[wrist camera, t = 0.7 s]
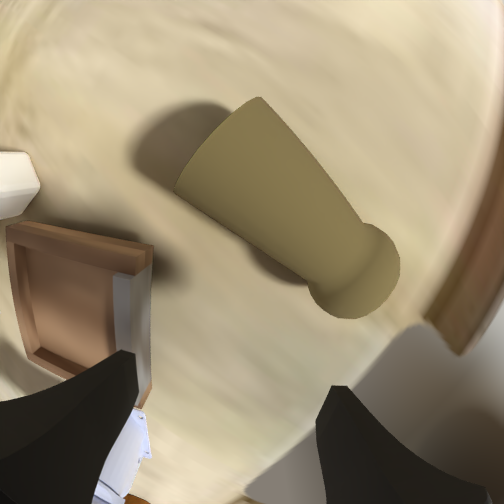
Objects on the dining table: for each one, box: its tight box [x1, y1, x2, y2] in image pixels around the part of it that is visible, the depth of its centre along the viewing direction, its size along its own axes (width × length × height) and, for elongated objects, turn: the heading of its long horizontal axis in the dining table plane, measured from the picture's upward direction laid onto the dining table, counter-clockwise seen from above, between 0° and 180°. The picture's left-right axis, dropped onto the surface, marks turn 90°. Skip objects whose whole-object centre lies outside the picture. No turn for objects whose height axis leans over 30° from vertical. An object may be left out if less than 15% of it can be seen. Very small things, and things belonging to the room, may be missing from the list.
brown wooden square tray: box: [6, 220, 154, 409], centre depth 15 cm, size 11×11×4 cm
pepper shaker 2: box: [174, 97, 400, 319], centre depth 13 cm, size 6×6×11 cm
